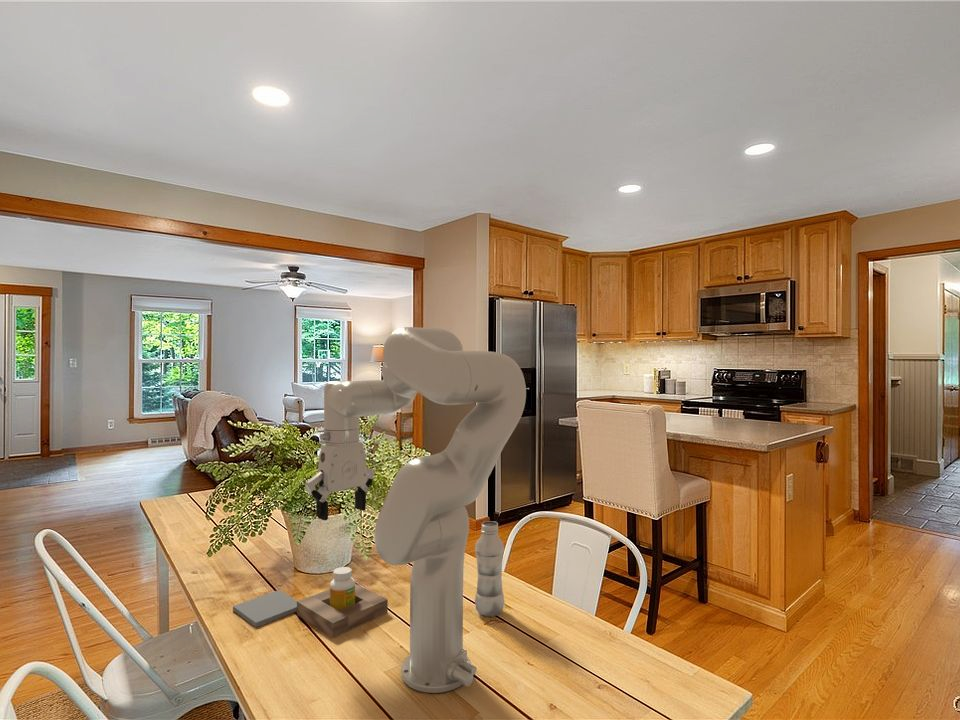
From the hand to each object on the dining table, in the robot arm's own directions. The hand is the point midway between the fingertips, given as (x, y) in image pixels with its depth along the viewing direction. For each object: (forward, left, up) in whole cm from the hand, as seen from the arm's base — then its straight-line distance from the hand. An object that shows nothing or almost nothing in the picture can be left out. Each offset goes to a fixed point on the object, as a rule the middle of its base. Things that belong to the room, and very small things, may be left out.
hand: (342, 514), depth 117 cm
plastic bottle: (-24, -22, -22) cm, 40 cm away
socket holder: (0, 0, -22) cm, 22 cm away
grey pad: (+14, +10, -22) cm, 28 cm away
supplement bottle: (0, 0, -22) cm, 22 cm away
